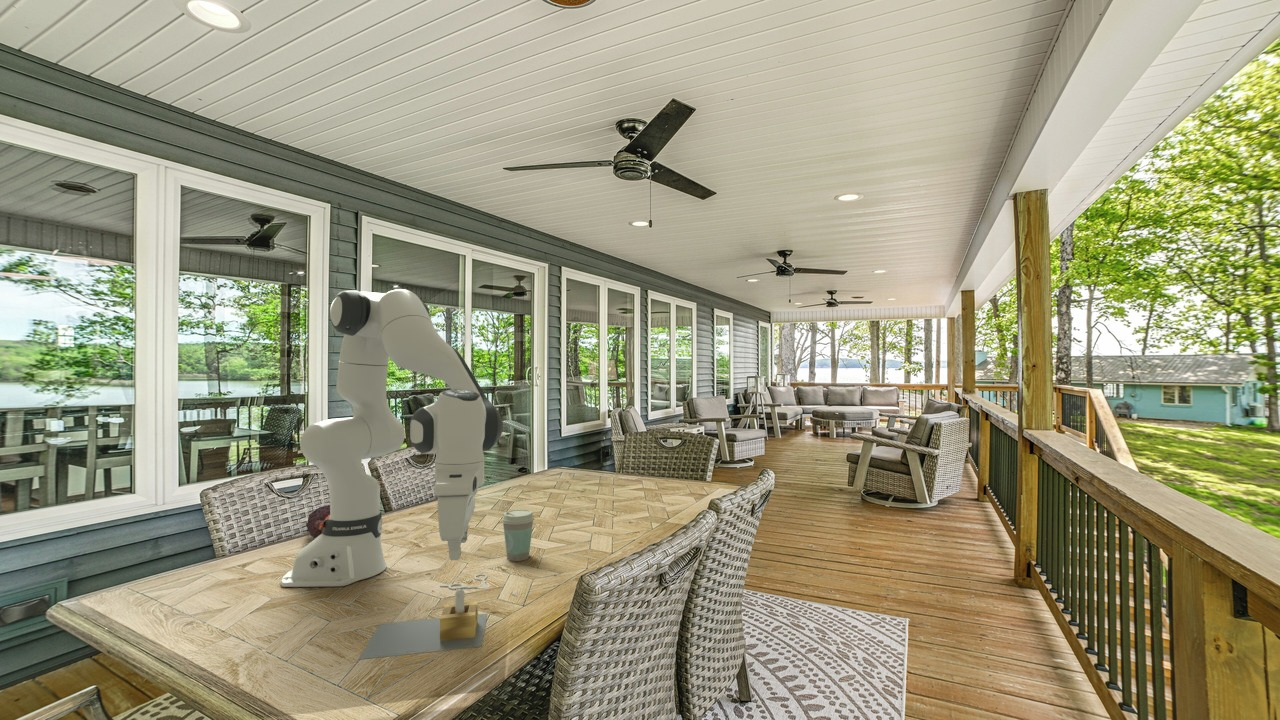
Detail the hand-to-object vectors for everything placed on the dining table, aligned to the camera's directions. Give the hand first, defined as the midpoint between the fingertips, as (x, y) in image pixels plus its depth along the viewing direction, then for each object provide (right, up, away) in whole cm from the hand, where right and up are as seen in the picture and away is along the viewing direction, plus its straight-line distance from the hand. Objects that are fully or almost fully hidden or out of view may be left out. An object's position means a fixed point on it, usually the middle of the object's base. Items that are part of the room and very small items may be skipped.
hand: (458, 550), depth 98 cm
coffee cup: (+1, -18, +43) cm, 47 cm away
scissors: (-2, -18, +23) cm, 29 cm away
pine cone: (-62, -19, +61) cm, 89 cm away
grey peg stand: (-5, -17, -2) cm, 17 cm away
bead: (0, -15, 0) cm, 15 cm away
